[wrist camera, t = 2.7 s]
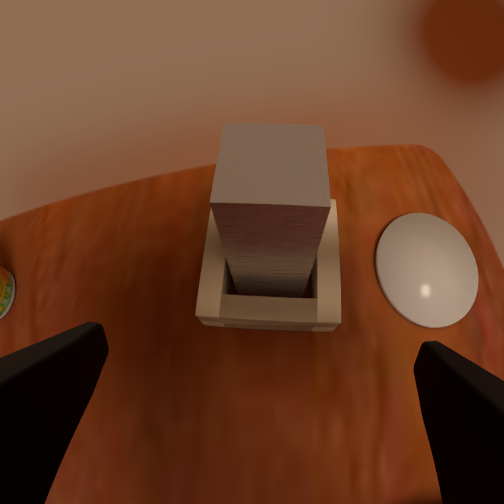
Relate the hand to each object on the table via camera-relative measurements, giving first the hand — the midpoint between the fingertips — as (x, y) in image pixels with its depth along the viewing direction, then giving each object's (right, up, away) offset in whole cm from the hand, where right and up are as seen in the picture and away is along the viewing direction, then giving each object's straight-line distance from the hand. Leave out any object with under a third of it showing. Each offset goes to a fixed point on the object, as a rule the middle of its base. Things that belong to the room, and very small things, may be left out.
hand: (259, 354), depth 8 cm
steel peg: (+1, +1, +15) cm, 16 cm away
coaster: (+14, +1, +15) cm, 21 cm away
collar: (+1, +1, +15) cm, 16 cm away
